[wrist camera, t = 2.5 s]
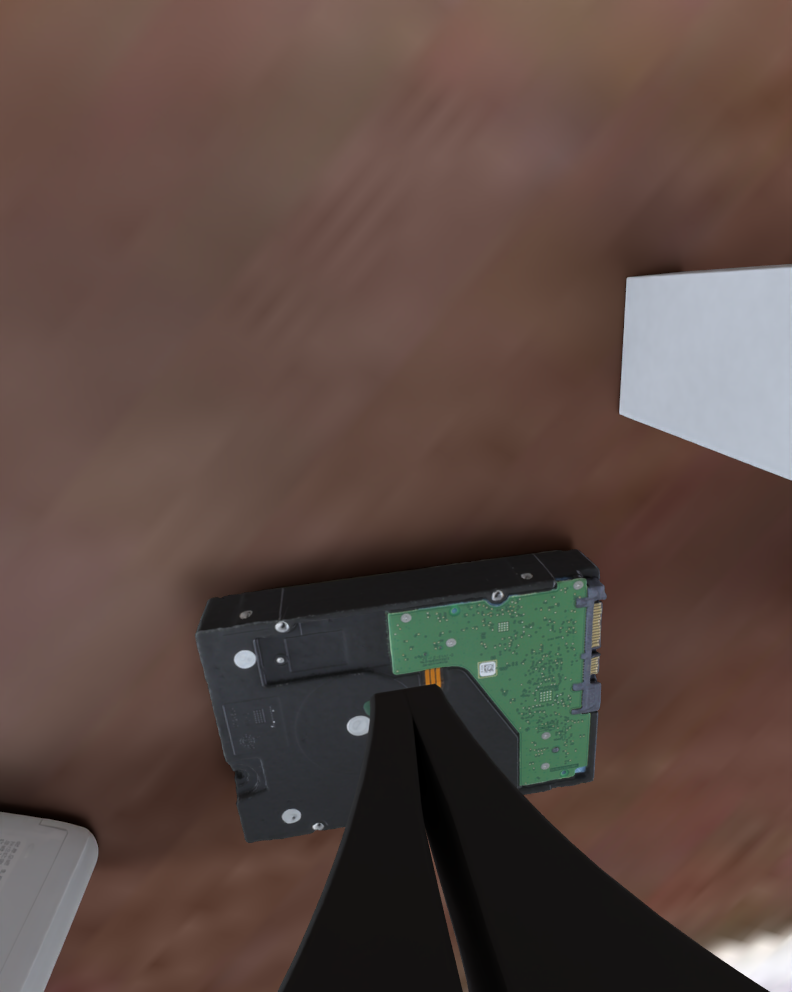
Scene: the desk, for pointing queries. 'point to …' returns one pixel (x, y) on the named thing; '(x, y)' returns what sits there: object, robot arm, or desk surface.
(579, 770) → the disk drive
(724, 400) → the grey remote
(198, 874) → the desk surface
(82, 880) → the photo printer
